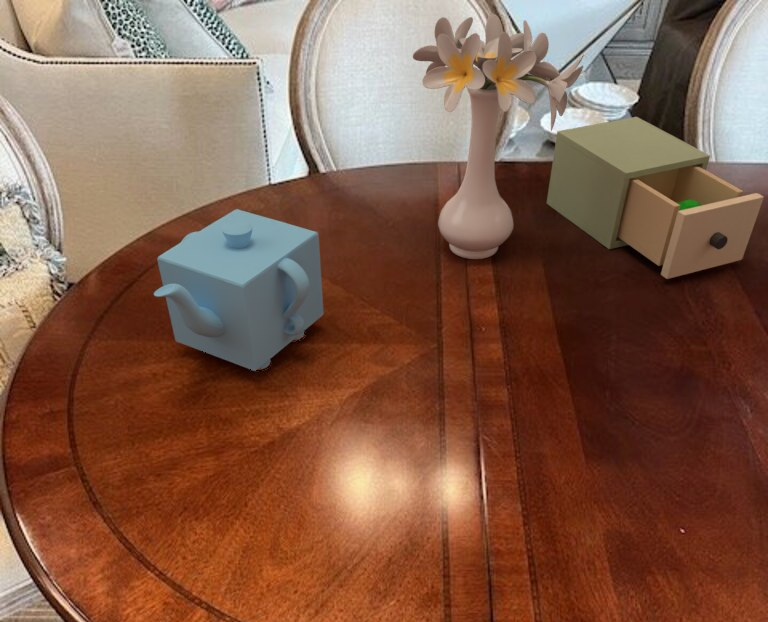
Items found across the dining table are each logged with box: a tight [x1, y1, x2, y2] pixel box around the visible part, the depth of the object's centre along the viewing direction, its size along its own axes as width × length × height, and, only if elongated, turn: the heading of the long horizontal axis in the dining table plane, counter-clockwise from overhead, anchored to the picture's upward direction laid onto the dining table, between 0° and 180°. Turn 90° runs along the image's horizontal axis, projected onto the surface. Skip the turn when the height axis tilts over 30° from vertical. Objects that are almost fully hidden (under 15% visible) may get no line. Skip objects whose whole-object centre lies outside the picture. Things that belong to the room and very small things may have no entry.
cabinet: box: [546, 116, 711, 250], centre depth 102 cm, size 15×13×10 cm
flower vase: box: [412, 13, 585, 260], centre depth 90 cm, size 13×18×25 cm
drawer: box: [617, 165, 765, 280], centre depth 95 cm, size 15×11×8 cm
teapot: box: [153, 208, 325, 372], centre depth 78 cm, size 18×16×13 cm
